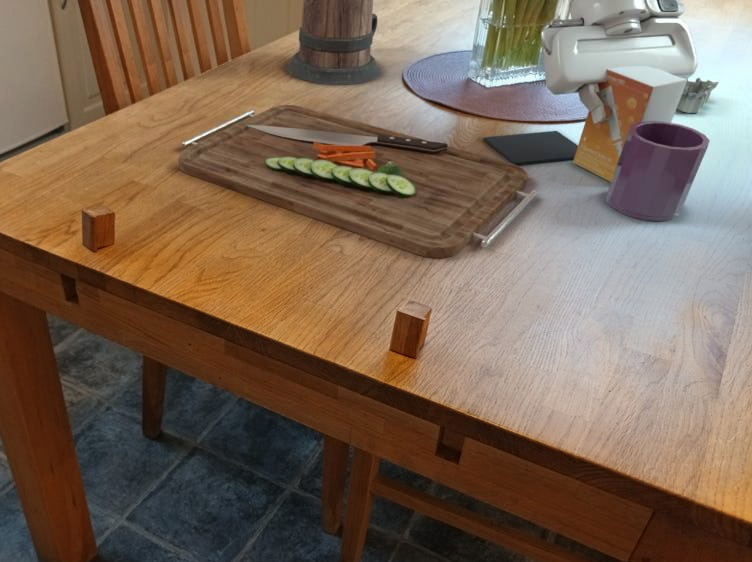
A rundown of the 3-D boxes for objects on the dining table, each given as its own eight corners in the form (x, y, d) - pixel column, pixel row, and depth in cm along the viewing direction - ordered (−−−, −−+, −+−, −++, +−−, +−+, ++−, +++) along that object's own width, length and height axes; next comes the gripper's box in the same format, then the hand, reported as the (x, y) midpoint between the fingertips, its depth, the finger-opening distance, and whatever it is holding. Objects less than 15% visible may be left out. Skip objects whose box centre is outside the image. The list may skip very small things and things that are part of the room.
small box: (571, 163, 99) (600, 66, 90) (604, 155, 101) (635, 59, 93) (617, 187, 93) (653, 85, 85) (651, 178, 96) (689, 78, 87)
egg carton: (667, 89, 124) (676, 65, 121) (714, 100, 120) (724, 74, 117) (647, 105, 117) (656, 79, 115) (695, 117, 113) (706, 90, 111)
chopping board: (154, 162, 97) (152, 140, 95) (270, 106, 114) (270, 86, 112) (466, 271, 77) (471, 246, 75) (549, 183, 94) (556, 161, 92)
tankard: (354, 91, 120) (367, -45, 107) (268, 72, 126) (270, -57, 114) (409, 56, 135) (426, -66, 123) (330, 41, 142) (338, -76, 129)
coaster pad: (555, 133, 107) (556, 130, 107) (591, 157, 101) (591, 154, 100) (483, 139, 105) (483, 137, 105) (514, 165, 98) (515, 162, 98)
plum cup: (649, 186, 94) (675, 118, 88) (695, 217, 87) (726, 146, 82) (592, 192, 92) (614, 124, 86) (634, 224, 86) (661, 152, 80)
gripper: (552, 6, 88) (575, 114, 87) (694, -1, 92) (717, 102, 91) (525, 35, 94) (545, 136, 93) (658, 27, 98) (680, 123, 97)
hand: (631, 119), depth 92 cm, fingers closed on small box, 7 cm apart
